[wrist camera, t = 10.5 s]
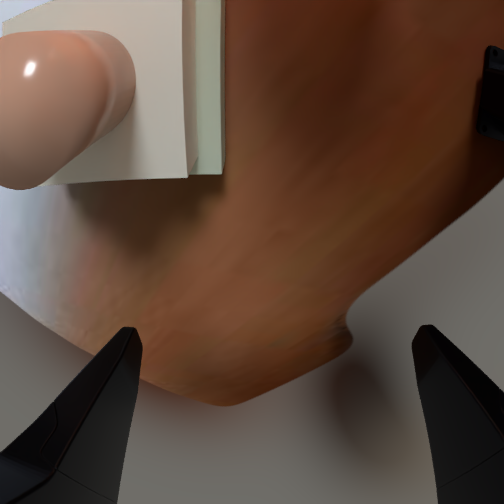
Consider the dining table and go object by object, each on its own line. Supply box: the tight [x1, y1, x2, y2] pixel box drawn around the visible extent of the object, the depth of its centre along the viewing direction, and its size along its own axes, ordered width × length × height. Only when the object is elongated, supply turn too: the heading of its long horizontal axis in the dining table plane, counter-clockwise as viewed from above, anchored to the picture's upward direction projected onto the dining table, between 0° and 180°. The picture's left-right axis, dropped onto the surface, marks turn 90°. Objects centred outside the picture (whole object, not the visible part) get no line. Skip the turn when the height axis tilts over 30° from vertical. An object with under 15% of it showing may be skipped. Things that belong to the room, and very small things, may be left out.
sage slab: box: [30, 0, 225, 175], centre depth 14 cm, size 11×11×3 cm
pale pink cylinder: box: [0, 30, 136, 190], centre depth 9 cm, size 5×5×5 cm
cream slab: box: [3, 0, 198, 187], centre depth 12 cm, size 9×9×3 cm
